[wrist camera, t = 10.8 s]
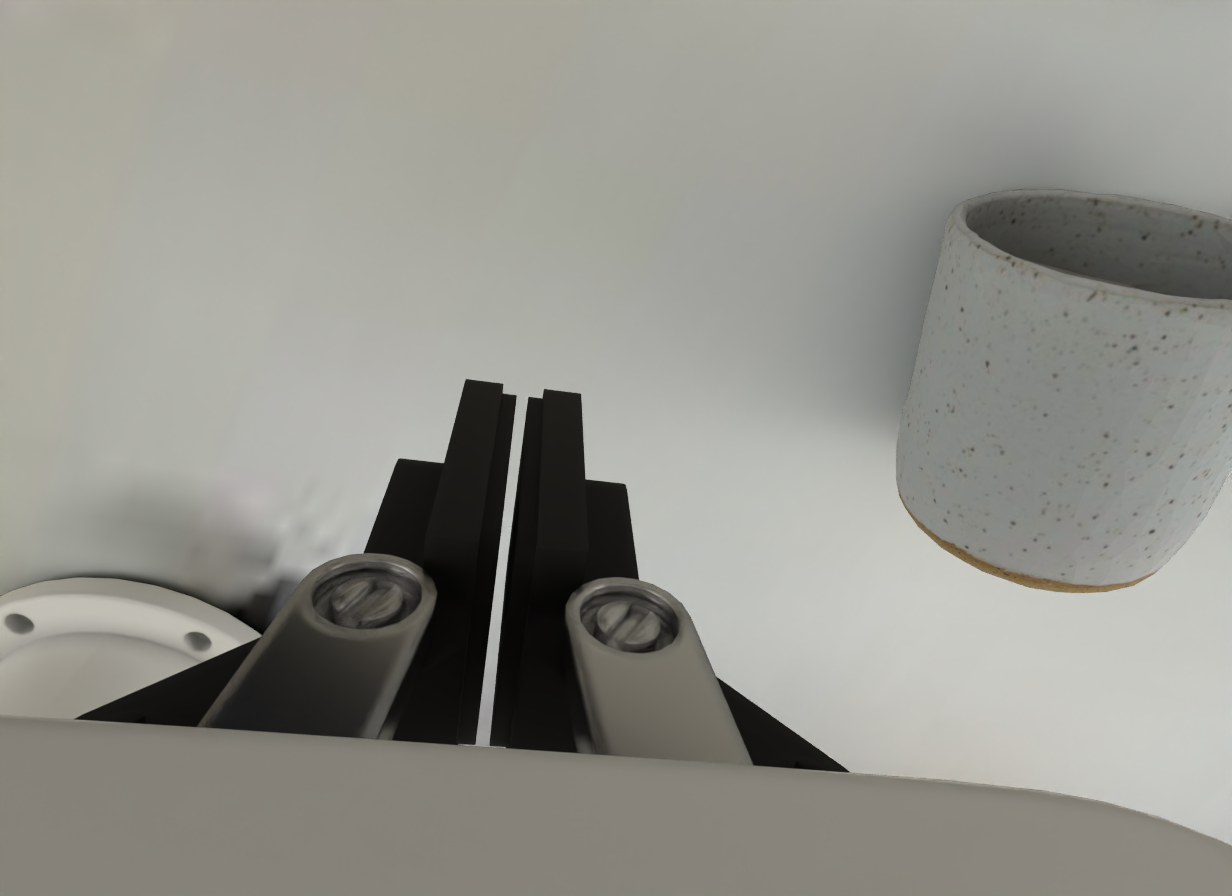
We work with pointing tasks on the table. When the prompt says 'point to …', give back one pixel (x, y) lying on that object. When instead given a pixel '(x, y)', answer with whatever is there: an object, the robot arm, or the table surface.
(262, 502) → the table surface
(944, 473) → the ceramic mug
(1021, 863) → the robot arm
